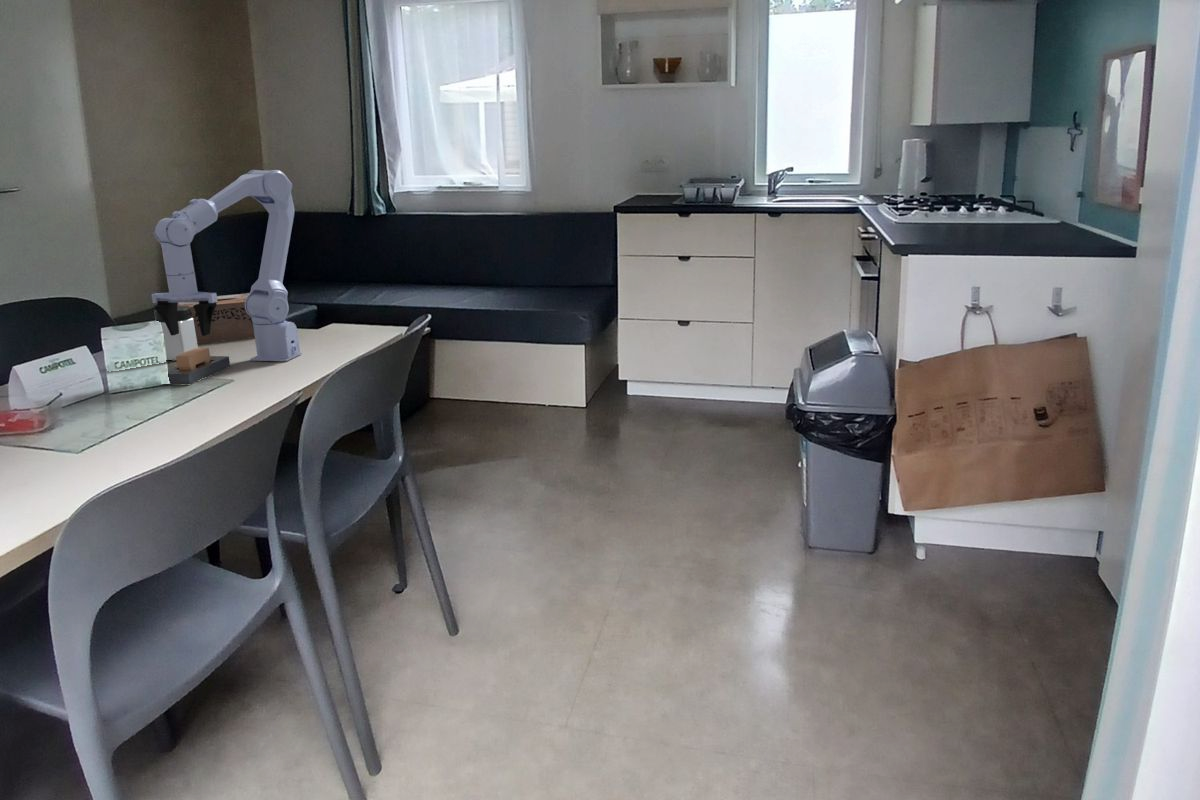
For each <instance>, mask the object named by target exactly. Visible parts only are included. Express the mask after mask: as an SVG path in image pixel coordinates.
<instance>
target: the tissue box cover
mask: <svg viewBox="0 0 1200 800" xmlns="http://www.w3.org/2000/svg"><path fill="white" fill-rule="evenodd" d="M249 294H250V292H247V293H240V294H239V293H238V294H237V293H236V294H227V295H226V294H225V295H217V302H216V304H217V305H216V307H215V310H214V313H213V316H212V320H211V327H210V334H208V335H206V336H202V334H201V330H200V324H199V320H198V316H197V314H196V311H195V309H194V307H193V305H196V304H199V302H178V306H189V307H190V309H191V313H192V314H191V315H192V317H191V318H193V320H194V326H195V332H196V339H197V343H199V344H205V342H208V343H214V342H213V341H217V342H223V341H222V340H226V341H232V340H231V339H235V340H240V339H239V338H244V339H250V338H249V337H253V338H255V335H254V328H253V321H252V317H251V316H249V315H248V314H247V312H246V310H245V300H246V298H247V297H248V295H249ZM183 300H191V299H183Z"/></svg>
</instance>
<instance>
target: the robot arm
mask: <svg viewBox="0 0 1200 800" xmlns="http://www.w3.org/2000/svg"><path fill="white" fill-rule="evenodd" d="M292 189H293V183H292V182H291V181H290V179H289V178H288V176H287V175H286V174H285V173H284V172H283V171H281V170H278V169H274V170H273V169H272V170H258V169H251V170H250V171H248V172H247V173H244V174H242V175H240V176H239V177H238V178H237V179H236V180H234V181H232V182H231V183H230V184H229V185H227V186H226V187H224V188H223V189H222V190H220V191H218V192H217V193H216V194H214V195H213V196H212V197H211V198H209V199H205V198H198V199H197V198H193V199H191V200H189V201H188V202H189V205H187V206H185V207H184V208H182V209H180V210H179V211H177V210H175V211H173V212H172V215H171V217H164V218H162V219H160V220H159V221H158V222H157V223H156V226H155V228H154V231H153V237H154V238H155V239H156V241H157V242H159V244H160V246H161V252H162V258H163V259H162V260H163V263H164V270H165V275H166V276H165V277H166V281H167V287H168V292H155V293H152V294H151V300H152V304H156V305H154V306H153V307H154V310H156V311H157V312H158V313H159V314H160V316H161V317H162V319H163V320H164V322H165V324H166V326H167V328H168V330H169V332H170V334H171V335H176V334H179V326H178V320H177V307H178V302H199V304H196V305H193V307H194V309H195V311H196V314H197V316H198V320H199V324H200V330H201V334H202V336H206V335H208V334H210V327H211V320H212V316H213V313H214V310H215V307H216V305H217V304H216V302H217V296H218V295H217V292H205V291H198V287H197V286H198V285H197V278H196V272H195V266H194V262H193V255H192V249H191V248H192V247H191V243H192V242H193V240H194V237H195V235H196V234H198V233H200V232H201V231H203V230H204V229H206V228H208V227H209V226H211V225H212V224H214V223H215V222H217V221H218V218H219V213H220V212H222V211H224V210H226V209H228V208H229V207H230V206H233V205H234V204H236V203H238V202H239V201H241V200H243V199H245V198H246V197H252V198H253V199H255V201H257V202H259V204H261V205H262V206H263V208H264V209H265V210H266V211H267V213H268V220H267V226H266V232H265V237H264V238H265V239H264V242H263V250H262V256H261V261H260V262H261V263H260V268H259V273H258V279H257V280H255V282H254V283H253V284H252V285H251V287H250V292H249V293H250V294H249V295H248V297H247V298H246V300H245V310H246V312H247V314H248V315H249V316H251V317H252V321H253V328H254V335H255V337H254V342H255V349H256V355H255V356H253V357H251V358H250V359H249V361H250V362H288V361H290V360H292V359H294V358H296V357H298V356H300V355H302V353H303V351H301V349H300V340H299V334H298V333H299V332H298V328H297V325H296V324H295V322H292V321H288V320H286V317H287V316H288V314H289V310H290V308H289V306H290V305H289V302H288V296H289V295H288V294H289V292H288V290H287V289H286V287H285V286H284V284H283V283H284V282H283V281H284V278H285V277H284V276H285V270H286V266H287V265H286V264H287V259H288V258H287V257H288V253H289V247H290V241H291V234H292V229H293V224H294V218H295V205H294V200H293V196H292ZM183 299H191V300H183Z"/></svg>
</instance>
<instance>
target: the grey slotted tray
mask: <svg viewBox="0 0 1200 800" xmlns="http://www.w3.org/2000/svg"><path fill="white" fill-rule="evenodd" d="M210 358H211V359H210V363H207V364H201V363H199V364H196V369H193V370H179V367H178V366H177V365H176V366H174V367H172V368H169V369H167V370H168V377H169V381H170V383H171V384H191V383H194V382H196V381H198V380H200V379H202V378H205V377H207V378H208V376H209V377H211V376H213V375H215V373H216V374H217V372H218V373H220V372H221V371H224V370H226V369H229V368H231V363H230V356H227V355H225V356H224V355H223V356H222V355H221V356H220V355H210ZM210 375H211V376H210ZM205 379H206V378H205ZM202 380H203V379H202ZM200 381H201V380H200ZM198 382H199V381H198ZM196 383H197V382H196ZM194 384H195V383H194ZM191 385H192V384H191Z"/></svg>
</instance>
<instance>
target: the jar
mask: <svg viewBox="0 0 1200 800" xmlns="http://www.w3.org/2000/svg"><path fill="white" fill-rule="evenodd" d="M153 314H154V319H155V320H154V321H153V322H154V323H155V321H159V322H161V324H162V328H163V333H164V340H165V346H166V351H167V355H168V358H169V360H172V361H174V360H173V359H176V356H177V355H180V354H182V353H185V352H187V351H190V350H192V349H195V348H199V346H198V344H197V339H196V332H195V326H194V320H193V318H191V317H192V315H191V314H192V313H191V309H190V307H189V306H178V307H177V320H178V326H179V334H176V335H171V334H170V332H169V330H168V328H167V326H166V324H165V322H164V320H163V319H162V317H161V316H160V314H159V313H158V312H157V311H156V310H155V309H154V310H153Z"/></svg>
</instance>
